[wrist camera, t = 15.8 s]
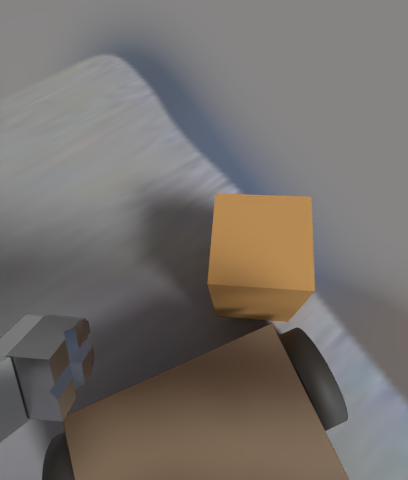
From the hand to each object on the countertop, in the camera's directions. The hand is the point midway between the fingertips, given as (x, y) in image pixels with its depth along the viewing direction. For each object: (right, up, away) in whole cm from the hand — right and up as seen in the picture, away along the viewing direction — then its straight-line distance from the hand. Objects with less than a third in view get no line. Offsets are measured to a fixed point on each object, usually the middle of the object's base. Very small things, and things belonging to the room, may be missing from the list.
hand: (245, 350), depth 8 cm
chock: (+2, 0, +14) cm, 14 cm away
